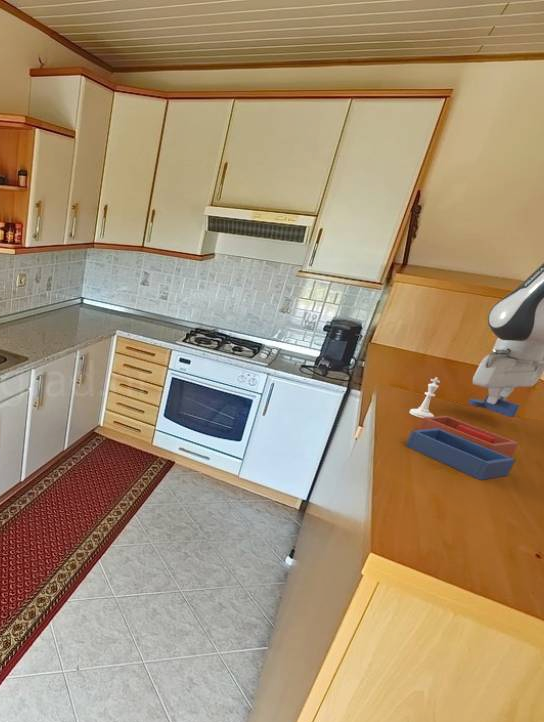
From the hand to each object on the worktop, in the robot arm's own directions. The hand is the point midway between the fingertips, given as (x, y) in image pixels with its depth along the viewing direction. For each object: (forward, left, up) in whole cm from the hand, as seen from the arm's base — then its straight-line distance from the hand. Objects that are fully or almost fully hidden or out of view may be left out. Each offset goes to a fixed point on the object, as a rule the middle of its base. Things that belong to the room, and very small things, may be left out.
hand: (494, 403), depth 120 cm
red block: (-7, +26, -5) cm, 27 cm away
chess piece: (+6, +17, -5) cm, 18 cm away
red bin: (-8, +26, -5) cm, 27 cm away
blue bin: (-13, +38, -5) cm, 40 cm away
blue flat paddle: (+1, 0, -2) cm, 2 cm away
